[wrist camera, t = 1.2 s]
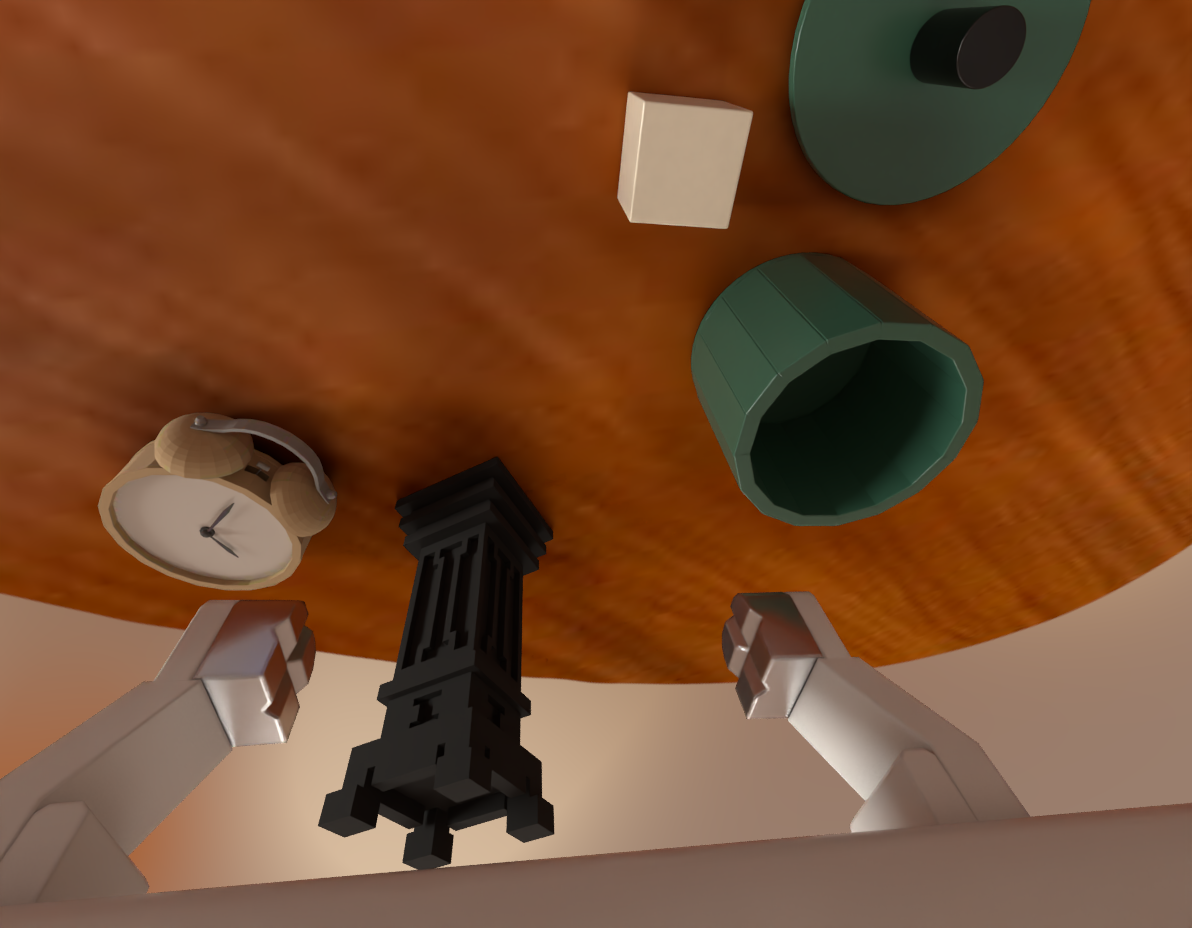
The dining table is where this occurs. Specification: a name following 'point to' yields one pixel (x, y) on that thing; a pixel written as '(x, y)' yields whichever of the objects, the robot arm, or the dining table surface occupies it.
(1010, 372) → the dining table surface
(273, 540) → the alarm clock
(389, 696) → the chess piece
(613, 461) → the dining table surface
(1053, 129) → the dining table surface
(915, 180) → the lid
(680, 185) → the block
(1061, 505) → the dining table surface
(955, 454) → the green hollow cylinder
